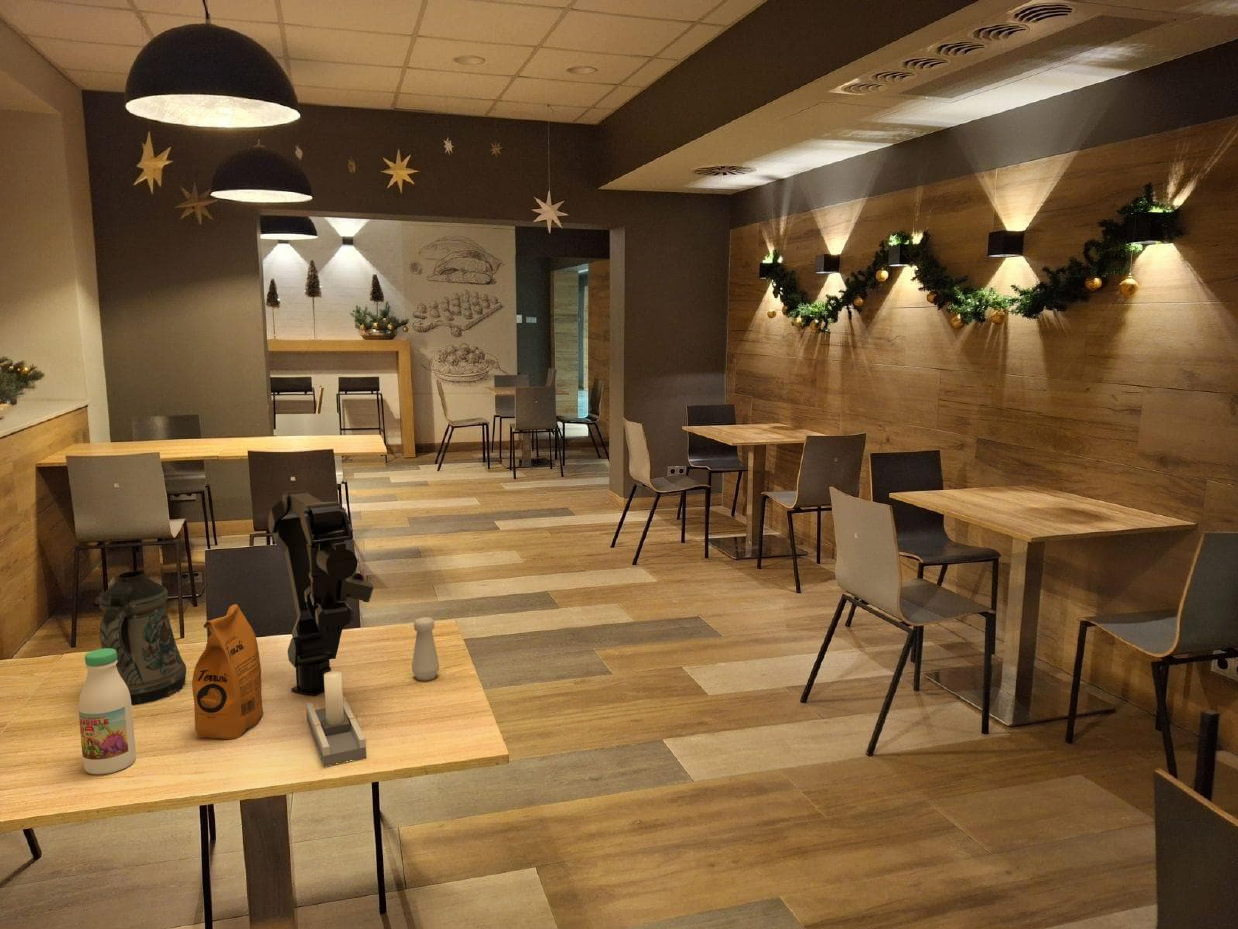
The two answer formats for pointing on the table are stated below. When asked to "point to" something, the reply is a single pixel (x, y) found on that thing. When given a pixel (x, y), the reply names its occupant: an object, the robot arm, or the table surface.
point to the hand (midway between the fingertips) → (329, 646)
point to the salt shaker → (424, 650)
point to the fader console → (336, 737)
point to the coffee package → (228, 679)
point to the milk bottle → (105, 716)
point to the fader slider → (334, 705)
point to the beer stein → (141, 637)
